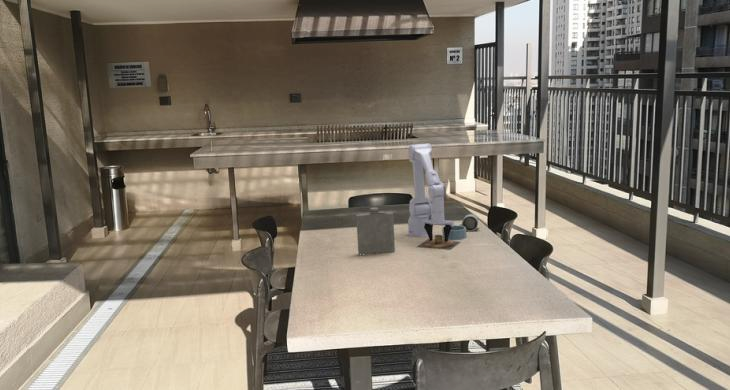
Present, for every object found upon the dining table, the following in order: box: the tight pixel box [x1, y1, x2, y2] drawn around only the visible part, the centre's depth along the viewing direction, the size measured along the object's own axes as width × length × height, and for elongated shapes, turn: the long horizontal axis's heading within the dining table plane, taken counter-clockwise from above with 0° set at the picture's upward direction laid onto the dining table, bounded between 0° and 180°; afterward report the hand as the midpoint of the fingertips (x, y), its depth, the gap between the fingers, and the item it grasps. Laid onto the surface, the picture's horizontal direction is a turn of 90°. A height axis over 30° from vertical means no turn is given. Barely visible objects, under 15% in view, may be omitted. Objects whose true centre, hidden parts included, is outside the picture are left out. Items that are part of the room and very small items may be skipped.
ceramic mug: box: [457, 213, 479, 232], centre depth 293 cm, size 11×8×8 cm
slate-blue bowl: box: [441, 224, 467, 241], centre depth 279 cm, size 11×11×4 cm
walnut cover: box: [423, 234, 454, 249], centre depth 267 cm, size 13×13×4 cm
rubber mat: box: [416, 238, 461, 251], centre depth 267 cm, size 16×14×1 cm
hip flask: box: [355, 207, 396, 256], centre depth 258 cm, size 16×4×20 cm, turn 94°
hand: (438, 241), depth 267 cm, fingers open, 7 cm apart
